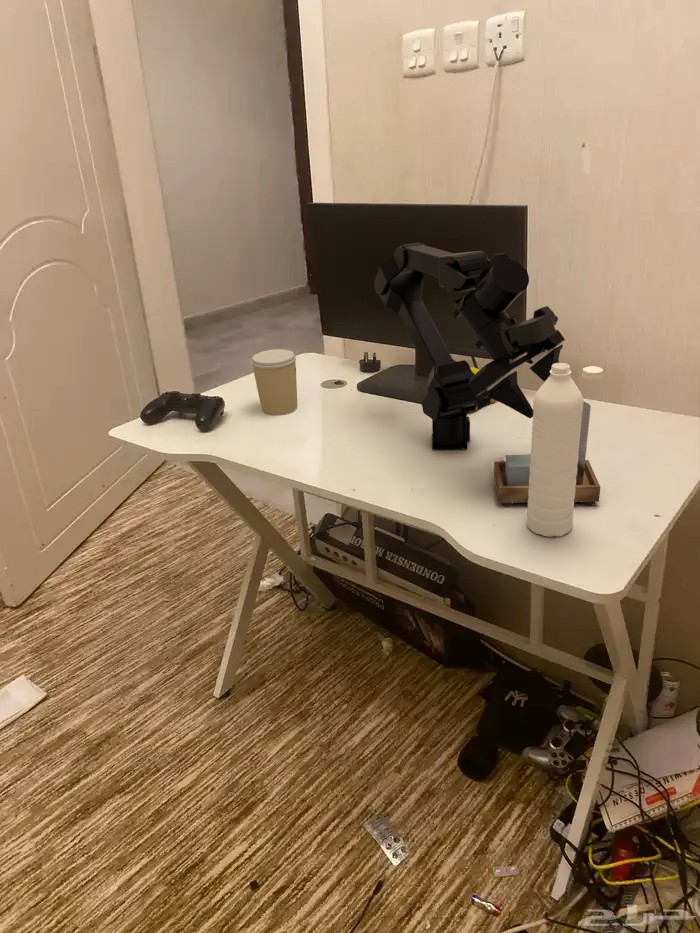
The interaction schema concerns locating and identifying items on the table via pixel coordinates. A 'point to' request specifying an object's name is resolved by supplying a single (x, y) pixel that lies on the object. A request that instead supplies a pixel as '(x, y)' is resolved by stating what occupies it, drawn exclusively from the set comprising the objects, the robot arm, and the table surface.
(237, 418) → the table surface
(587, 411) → the metal cylinder
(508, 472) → the pale grey cube
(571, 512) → the water bottle
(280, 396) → the coffee cup
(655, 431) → the table surface
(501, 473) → the walnut tray
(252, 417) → the table surface
